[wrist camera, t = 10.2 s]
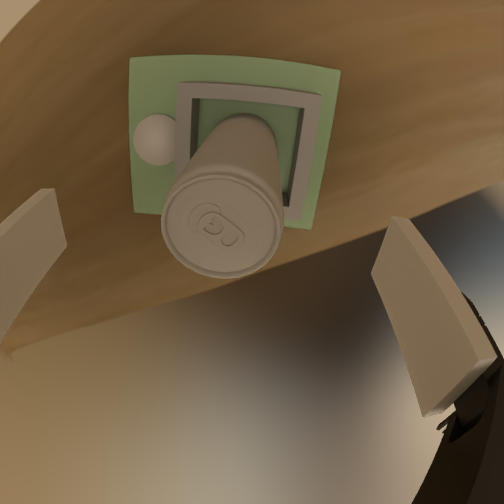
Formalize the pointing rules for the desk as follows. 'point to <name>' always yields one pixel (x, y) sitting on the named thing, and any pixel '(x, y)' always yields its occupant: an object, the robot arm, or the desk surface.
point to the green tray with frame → (222, 106)
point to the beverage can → (227, 201)
